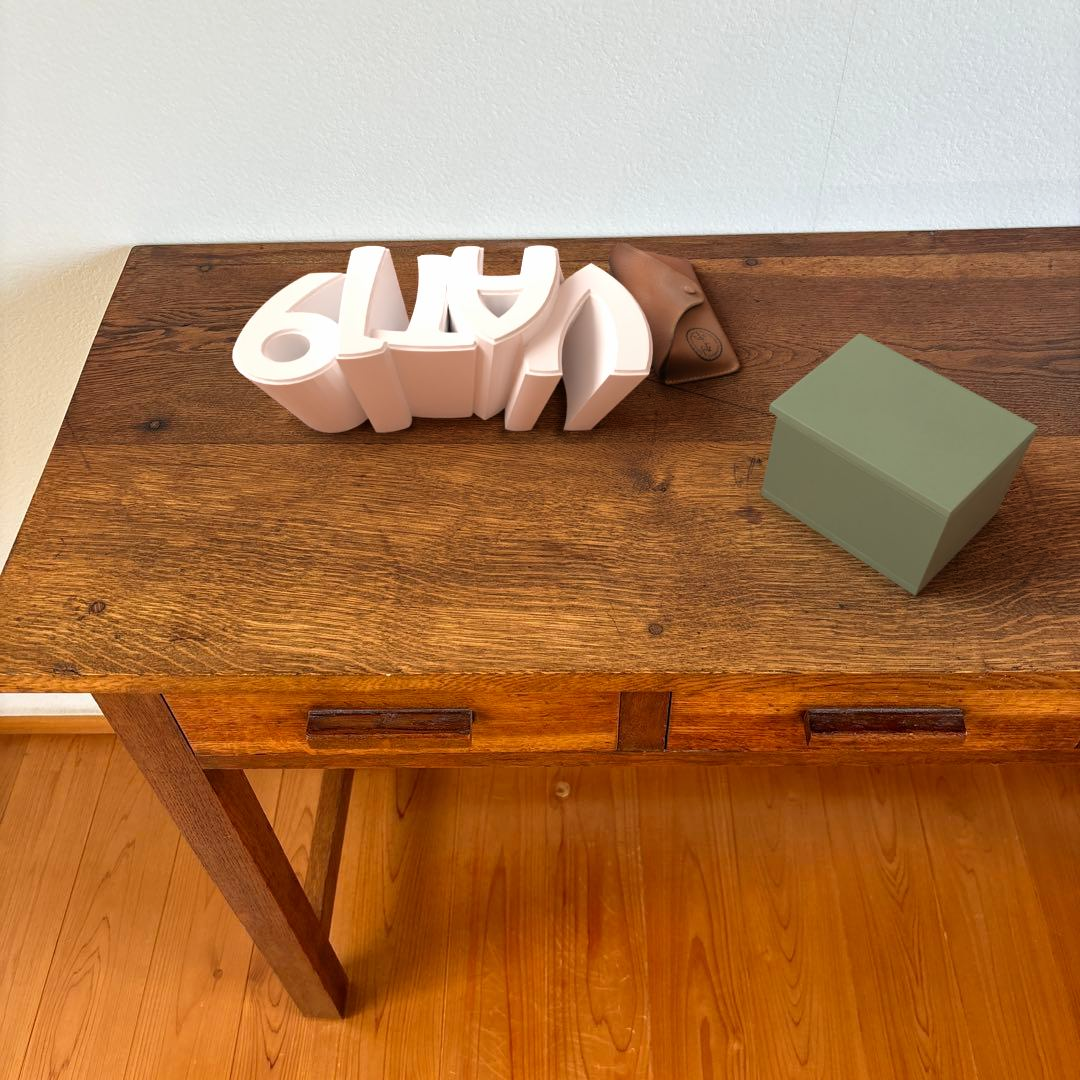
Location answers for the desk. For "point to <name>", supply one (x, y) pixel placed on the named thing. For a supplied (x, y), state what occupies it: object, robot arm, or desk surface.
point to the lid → (904, 423)
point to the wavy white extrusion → (446, 343)
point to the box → (874, 508)
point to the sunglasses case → (675, 316)
